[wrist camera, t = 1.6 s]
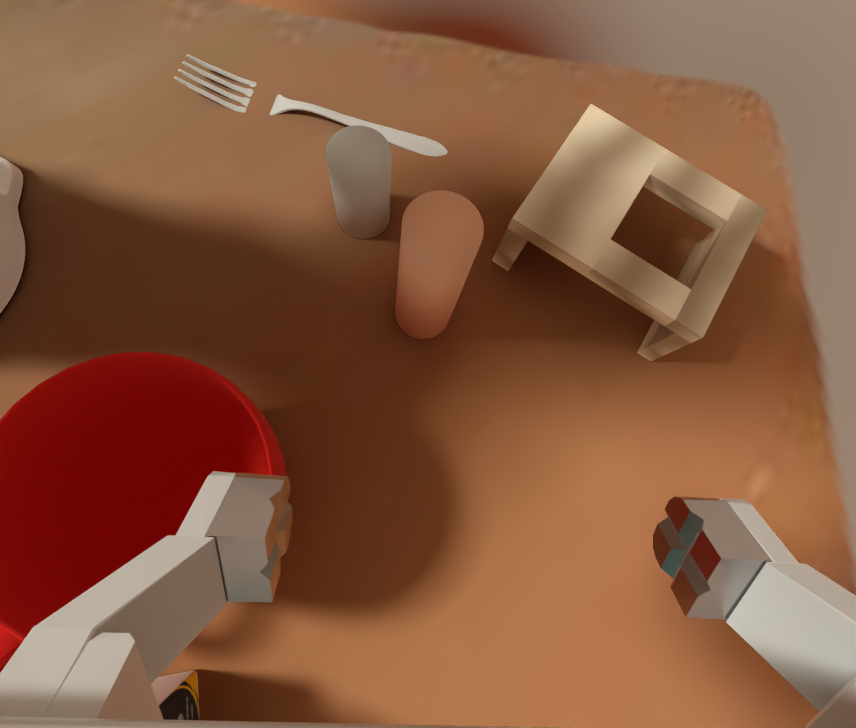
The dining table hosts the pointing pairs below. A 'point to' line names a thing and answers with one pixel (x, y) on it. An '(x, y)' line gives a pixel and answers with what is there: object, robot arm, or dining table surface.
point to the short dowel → (360, 180)
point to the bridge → (606, 207)
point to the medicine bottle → (178, 695)
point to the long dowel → (435, 260)
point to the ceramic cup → (111, 472)
